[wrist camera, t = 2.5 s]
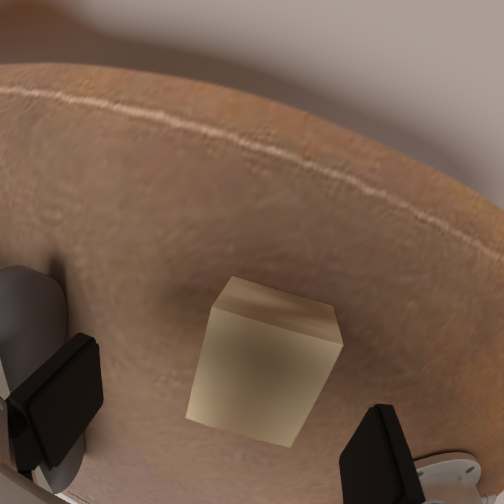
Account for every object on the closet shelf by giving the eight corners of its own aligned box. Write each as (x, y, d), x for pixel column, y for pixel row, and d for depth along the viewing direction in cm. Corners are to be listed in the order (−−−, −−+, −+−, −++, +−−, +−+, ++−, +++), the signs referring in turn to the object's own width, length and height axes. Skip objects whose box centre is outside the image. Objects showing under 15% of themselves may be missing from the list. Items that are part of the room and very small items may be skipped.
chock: (332, 304, 15) (343, 344, 11) (292, 397, 16) (290, 447, 12) (232, 274, 15) (211, 306, 11) (207, 372, 16) (185, 417, 13)
